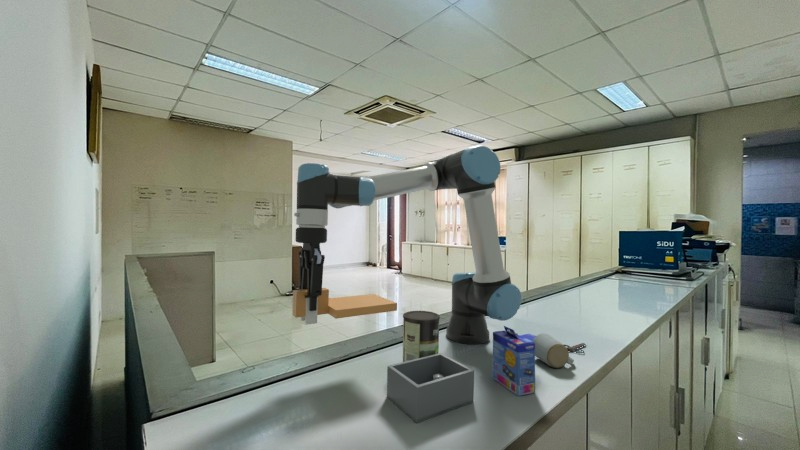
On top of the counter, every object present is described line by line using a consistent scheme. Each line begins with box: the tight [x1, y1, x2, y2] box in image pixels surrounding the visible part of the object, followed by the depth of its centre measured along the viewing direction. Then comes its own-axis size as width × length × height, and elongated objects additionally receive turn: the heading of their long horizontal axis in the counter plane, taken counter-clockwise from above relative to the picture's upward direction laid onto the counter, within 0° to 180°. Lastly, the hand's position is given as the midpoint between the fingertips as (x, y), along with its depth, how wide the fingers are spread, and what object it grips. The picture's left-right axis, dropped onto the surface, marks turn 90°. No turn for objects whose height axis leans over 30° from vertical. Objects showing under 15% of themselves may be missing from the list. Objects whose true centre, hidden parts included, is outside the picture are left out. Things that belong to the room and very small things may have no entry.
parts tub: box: [386, 352, 475, 424], centre depth 73 cm, size 16×12×7 cm
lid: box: [292, 287, 398, 320], centre depth 85 cm, size 25×13×6 cm, turn 123°
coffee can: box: [402, 310, 441, 362], centre depth 91 cm, size 10×10×14 cm
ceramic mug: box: [533, 332, 575, 369], centre depth 95 cm, size 11×8×8 cm
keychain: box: [562, 342, 587, 354], centre depth 107 cm, size 8×18×2 cm, turn 124°
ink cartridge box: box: [492, 325, 536, 397], centre depth 81 cm, size 10×6×14 cm, turn 21°
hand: (308, 321), depth 80 cm, fingers closed on lid, 3 cm apart
